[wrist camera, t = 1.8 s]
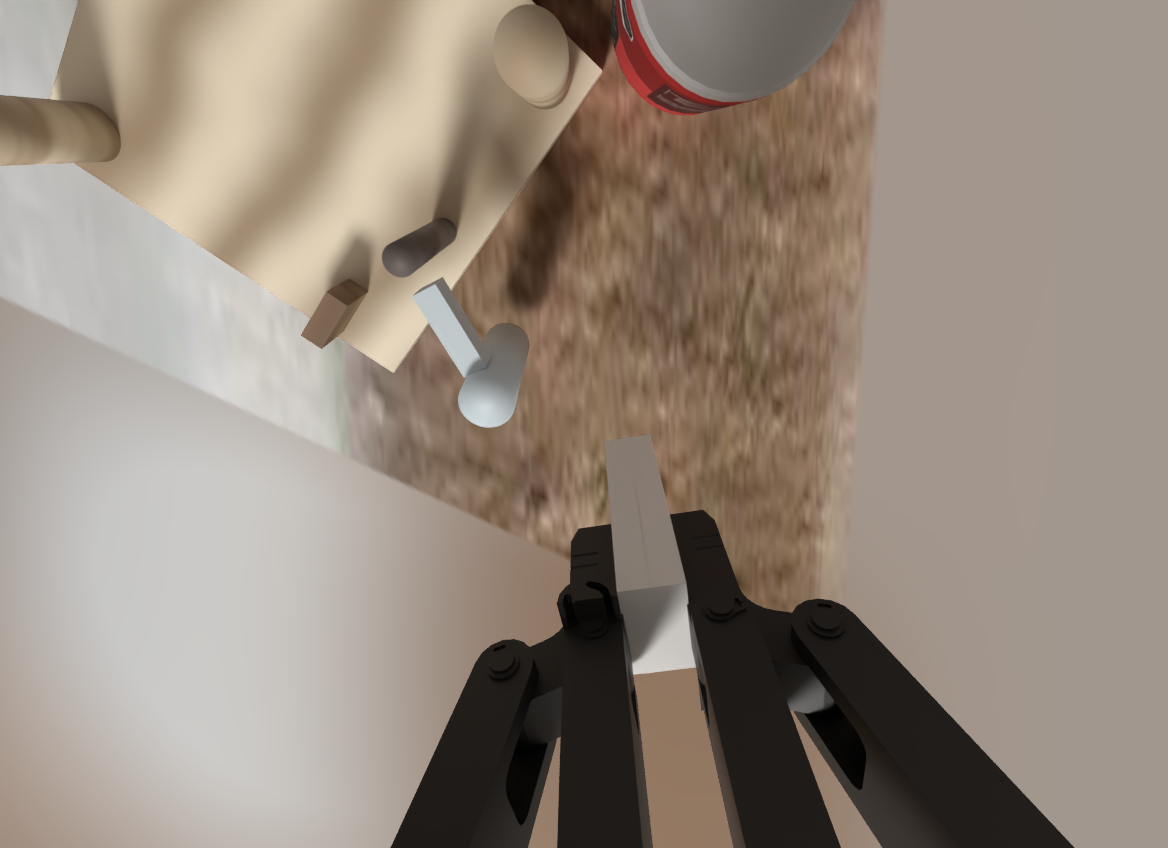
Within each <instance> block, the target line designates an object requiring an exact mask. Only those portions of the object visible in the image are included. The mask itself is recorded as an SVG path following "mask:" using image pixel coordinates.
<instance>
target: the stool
mask: <svg viewBox="0 0 1168 848" xmlns="http://www.w3.org/2000/svg"><path fill="white" fill-rule="evenodd" d="M601 74H602V70H601V69H600V68H599V67H598V66H597V65H596V64H595V63H594V62H593V61H592V60H591V59H590V58H589V57H588V56H587V55H586V54H585V53H584V52H583V51H582V50H581V49H580V48H579V47H578V46H577V45H576V44H575V43H574V42H573V41H572V40H571V39H570V38H569V37H568V36H567V35H566V34H565V32H564V29H563V27H562V25H561V24H560V22H559V21H558V19H557V18H556V17H555V16H554V15H553V14H552V13H551V12H550V11H548V10H546V9H545V8H543V7H541V6H537V5H536V4H535V3H534V2H533V1H532V0H78V4H77V7H76V11H75V14H74V18H73V21H72V24H71V28H70V31H69V35H68V38H67V42H66V45H65V49H64V52H63V55H62V59H61V62H60V66H59V69H58V73H57V76H56V79H55V83H54V86H53V90H52V93H51V97H50V99H39V98H28V97H16V96H4V95H0V166H6V165H34V164H62V163H75V164H76V165H78V166H79V167H81V168H82V169H84V170H85V171H87V172H88V173H90V174H91V175H93V176H95V177H96V178H98V179H99V180H101V181H102V182H104V183H105V184H107V185H108V186H110V187H111V188H113V189H114V190H116V191H117V192H119V193H120V194H122V195H123V196H125V197H126V198H128V199H129V200H131V201H133V202H134V203H136V204H137V205H139V206H140V207H142V208H143V209H145V210H146V211H148V212H149V213H151V214H152V215H154V216H155V217H157V218H158V219H160V220H161V221H163V222H164V223H166V224H168V225H169V226H171V227H172V228H174V229H175V230H177V231H178V232H180V233H181V234H183V235H184V236H186V237H187V238H189V239H190V240H192V241H193V242H195V243H196V244H198V245H199V246H201V247H202V248H204V249H206V250H207V251H209V252H210V253H212V254H213V255H215V256H216V257H218V258H219V259H221V260H222V261H224V262H225V263H227V264H228V265H230V266H231V267H233V268H234V269H236V270H237V271H239V272H241V273H242V274H244V275H245V276H247V277H248V278H250V279H251V280H253V281H254V282H256V283H257V284H259V285H260V286H262V287H263V288H265V289H266V290H268V291H269V292H271V293H272V294H274V295H276V296H277V297H279V298H280V299H282V300H283V301H285V302H286V303H288V304H289V305H291V306H292V307H294V308H295V309H297V310H298V311H300V312H301V313H303V314H304V315H306V316H307V317H309V318H310V320H309V322H308V324H307V326H306V327H305V329H304V331H303V332H302V334H301V336H303V337H304V338H306V339H307V340H309V341H310V342H312V343H313V344H315V345H317V346H318V347H320V348H321V349H322V348H323V347H325V346H326V345H327V344H328V343H330V342H331V341H332V340H333V339H335V338H336V337H337V336H338V337H339V338H341V339H342V340H344V341H345V342H347V343H349V344H350V345H352V346H353V347H355V348H356V349H358V350H359V351H361V352H362V353H364V354H365V355H367V356H368V357H370V358H371V359H373V360H374V361H376V362H377V363H379V364H380V365H382V366H383V367H385V368H387V369H388V370H390V371H391V372H393V373H394V372H395V370H396V369H397V368H398V367H399V365H400V364H401V363H402V362H403V360H404V359H405V358H406V356H407V355H408V354H409V352H410V351H411V349H412V348H413V346H414V345H415V343H416V342H417V341H418V339H419V338H420V336H421V335H422V333H423V332H424V330H425V329H426V328H427V326H428V325H429V323H428V321H427V319H426V318H425V316H424V315H423V313H422V312H421V310H420V309H419V307H418V305H417V304H416V302H415V301H414V299H413V298H412V296H413V295H414V294H415V293H416V292H417V291H418V290H419V289H421V288H422V287H424V286H426V285H428V284H430V283H432V282H434V281H436V280H438V279H440V278H441V277H443V278H444V280H445V281H446V283H447V285H448V286H449V288H450V290H451V291H452V290H453V289H454V287H455V286H456V284H457V283H458V282H459V280H460V279H461V277H462V276H463V274H464V273H465V271H466V270H467V269H468V267H469V266H470V264H471V263H472V261H473V260H474V258H475V257H476V256H477V254H478V253H479V251H480V250H481V248H482V247H483V246H484V244H485V243H486V241H487V240H488V238H489V237H490V235H491V234H492V233H493V231H494V230H495V228H496V227H497V225H498V224H499V222H500V221H501V220H502V218H503V217H504V215H505V214H506V212H507V211H508V209H509V208H510V207H511V205H512V204H513V202H514V201H515V199H516V198H517V197H518V195H519V194H520V192H521V191H522V189H523V188H524V186H525V185H526V184H527V182H528V181H529V179H530V178H531V176H532V175H533V173H534V172H535V171H536V169H537V168H538V166H539V165H540V163H541V162H542V161H543V159H544V158H545V156H546V155H547V153H548V152H549V150H550V149H551V148H552V146H553V145H554V143H555V142H556V140H557V139H558V137H559V136H560V135H561V133H562V132H563V130H564V129H565V127H566V126H567V125H568V123H569V122H570V120H571V119H572V117H573V116H574V114H575V113H576V112H577V110H578V109H579V107H580V106H581V104H582V103H583V101H584V100H585V99H586V97H587V96H588V94H589V93H590V91H591V90H592V88H593V87H594V86H595V84H596V83H597V81H598V80H599V78H600V77H601Z"/></svg>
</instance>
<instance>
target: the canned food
mask: <svg viewBox="0 0 1168 848" xmlns="http://www.w3.org/2000/svg"><path fill="white" fill-rule="evenodd" d="M855 1H856V0H613V3H612V10H611V27H612V37H613V43H614V49H615V53H616V55H617V58H618V61H619V64H620V67H621V69H622V71H623V73H624V75H625V76H626V78H627V80H628V82H629V83H630V85H631V86H632V87H633V88H634V89H635V91H636V92H637V93H638V94H639V95H640V96H641V97H642V98H643V99H645V100H646V101H647V102H648V103H649V104H651V105H652V106H654V107H656V108H658V109H660V110H662V111H664V112H668V113H672V114H677V115H695V114H699V113H703V112H708V111H712V110H716V109H720V108H724V107H729V106H733V105H737V104H741V103H745V102H749V101H753V100H757V99H759V98H762V97H766V96H768V95H770V94H772V93H774V92H776V91H778V90H780V89H782V88H784V87H786V86H787V85H789V84H790V83H792V82H793V81H794V80H796V79H797V78H798V77H800V76H801V75H802V74H804V73H805V72H806V71H808V70H809V69H810V68H811V67H812V66H813V65H814V64H815V63H816V62H817V61H818V60H819V58H820V57H821V56H822V55H823V54H824V53H825V52H826V51H827V50H828V48H829V47H830V45H831V44H832V43H833V41H834V40H835V38H836V37H837V35H838V34H839V32H840V31H841V29H842V28H843V26H844V24H845V22H846V20H847V18H848V15H849V13H850V11H851V9H852V7H853V5H854V3H855Z"/></svg>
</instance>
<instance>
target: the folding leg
mask: <svg viewBox="0 0 1168 848" xmlns="http://www.w3.org/2000/svg"><path fill="white" fill-rule="evenodd" d="M412 298H413V299H414V301H415V302H416V304H417V305H418V307H419V309H420V310H421V312H422V313H423V315H424V316H425V318H426V319H427V321H428V323H429V324H430V326H431V327H432V329H433V330H434V332H435V333H436V335H437V337H438V338H439V340H440V341H441V343H442V344H443V346H444V347H445V349H446V351H447V352H448V354H449V355H450V357H451V358H452V360H453V361H454V363H455V364H456V366H457V368H458V369H459V371H460V372H461V374H462V375H463V377H466V376H467V378H466V380H465V382H464V384H463V386H462V388H461V390H460V393H459V397H458V402H459V407H460V410H461V412H462V413H463V415H464V416H465V417H466V418H467V419H468V420H469V421H470V422H472V423H474V424H476V425H478V426H482V427H496V426H500V425H502V424H504V423H505V422H507V421H508V420H509V419H510V418H511V416H512V415H513V412H514V409H515V405H516V401H517V397H518V393H519V389H520V384H521V380H522V376H523V372H524V368H525V363H526V359H527V355H528V351H529V339H528V337H527V335H526V333H525V332H524V330H523V329H521V328H520V327H519V326H517V325H515V324H512V323H500V324H497V325H495V326H494V327H492V328H491V329H490V331H489V332H488V334H487V336H486V338H485V340H484V342H483V343H482V341H481V339H480V338H479V336H478V334H477V333H476V331H475V329H474V328H473V326H472V324H471V323H470V321H469V319H468V318H467V316H466V314H465V313H464V311H463V309H462V308H461V306H460V305H459V303H458V301H457V300H456V298H455V296H454V295H453V293H452V291H451V290H450V288H449V286H448V285H447V283H446V281H445V280H444V278H443V277H441V278H440V279H438V280H436V281H434V282H432V283H430V284H428V285H426V286H424V287H422V288H421V289H419V290H418V291H417V292H416V293H415V294H414V295H413V296H412Z"/></svg>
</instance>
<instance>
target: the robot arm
mask: <svg viewBox="0 0 1168 848" xmlns="http://www.w3.org/2000/svg"><path fill="white" fill-rule="evenodd" d="M604 443H605V455H606V467H607V479H608V491H609V503H610V515H611V524H608V525H601V526H594V527H587V528H580V529H578V531H577V532H576V534H575V536H574V538H573V539H572V541H571V570H570V584H569V585H568V586H566V587H565V588H564V590H563V591H562V592H561V593H560V595H559V598H558V601H557V606H558V610H559V613H560V617H561V621H562V624H563V627H562V628H561V630H560V631H559V632H557V633H556V634H555V635H554V636H552V637H551V638H549V639H547V640H545V641H543V642H540V643H538V644H536V645H533V646H531V647H529V646H527V645H526V644H525V643H524V642H522V641H518V640H515V639H512V640H502V641H500V642H498V643H495V644H493V645H491V646H490V647H489V648H487V649H486V650H485V651H484V652H483V653H482V654H481V655H480V657H479V658H478V660H477V661H476V663H475V665H474V667H473V669H472V672H471V674H470V676H469V678H468V680H467V683H466V685H465V687H464V689H463V691H462V693H461V695H460V698H459V700H458V702H457V704H456V706H455V709H454V711H453V713H452V715H451V717H450V720H449V722H448V724H447V726H446V729H445V730H444V733H443V735H442V737H441V739H440V741H439V743H438V746H437V748H436V750H435V752H434V755H433V757H432V759H431V761H430V763H429V765H428V767H427V770H426V772H425V774H424V776H423V778H422V781H421V783H420V785H419V787H418V789H417V792H416V794H415V796H414V798H413V800H412V802H411V805H410V807H409V809H408V811H407V813H406V815H405V818H404V820H403V822H402V824H401V826H400V828H399V831H398V833H397V835H396V837H395V840H394V842H393V844H392V846H391V848H528V845H529V841H530V838H531V834H532V830H533V826H534V823H535V819H536V815H537V811H538V808H539V804H540V800H541V797H542V793H543V789H544V786H545V782H546V778H547V774H548V770H549V767H550V763H551V760H552V756H553V752H554V748H555V745H556V739H557V738H558V737H561V745H560V776H559V809H558V843H557V844H558V845H557V848H653V845H652V836H651V826H650V816H649V807H648V798H647V790H646V789H647V788H646V779H645V769H644V760H643V751H642V741H641V732H640V722H639V713H638V703H637V695H636V690H635V685H634V678H633V675H635V674H643V673H651V672H659V671H668V670H676V669H684V668H693V667H696V669H697V674H698V683H699V692H700V700H701V710H704V714H705V718H706V723H707V728H708V732H709V737H710V741H711V746H712V750H713V755H714V760H715V764H716V769H717V774H718V778H719V783H720V787H721V792H722V797H723V801H724V806H725V811H726V815H727V820H728V824H729V829H730V834H731V838H732V842H733V847H734V848H841V847H840V844H839V841H838V839H837V836H836V833H835V831H834V828H833V825H832V823H831V820H830V817H829V815H828V812H827V809H826V806H825V804H824V801H823V798H822V795H821V793H820V790H819V788H818V785H817V782H816V780H815V777H814V774H813V771H812V769H811V766H810V763H809V760H808V758H807V755H806V753H805V750H804V747H803V744H802V742H801V739H800V736H799V733H798V731H797V728H796V725H795V723H794V720H793V717H792V715H791V712H790V710H793V711H794V713H795V715H796V716H797V718H798V720H799V721H800V723H801V724H802V726H803V727H804V729H805V730H806V732H807V733H808V735H809V736H810V738H811V739H812V741H813V742H814V744H815V745H816V747H817V749H818V750H819V751H820V753H821V755H822V756H823V758H824V759H825V761H826V762H827V764H828V765H829V767H830V768H831V770H832V771H833V773H834V774H835V776H836V777H837V779H838V781H839V782H840V784H841V785H842V787H843V788H844V790H845V791H846V793H847V794H848V796H849V797H850V799H851V800H852V802H853V803H854V805H855V806H856V808H857V810H858V811H859V812H860V814H861V815H862V817H863V819H864V820H865V822H866V823H867V825H868V826H869V828H870V829H871V831H872V832H873V834H874V835H875V837H876V838H877V840H878V842H879V843H880V845H881V846H882V848H1074V847H1073V846H1072V845H1071V844H1070V843H1069V841H1067V839H1066V838H1065V837H1064V836H1063V835H1062V834H1061V833H1060V832H1059V831H1058V830H1057V829H1056V828H1055V827H1054V825H1053V824H1052V823H1051V822H1050V821H1049V820H1048V819H1047V818H1046V817H1045V816H1044V815H1043V814H1042V813H1041V812H1040V811H1039V810H1038V809H1037V807H1036V806H1035V805H1034V804H1033V803H1032V802H1031V801H1030V800H1029V799H1028V798H1027V797H1026V796H1025V795H1024V794H1023V793H1022V792H1021V791H1020V789H1018V787H1017V786H1016V785H1015V784H1014V783H1013V782H1012V781H1011V780H1010V779H1009V778H1008V777H1007V776H1006V774H1005V773H1004V772H1003V771H1002V770H1001V769H1000V768H999V767H998V766H997V765H996V764H995V763H994V762H993V761H992V760H991V759H990V757H989V756H988V755H987V754H986V753H985V752H984V751H983V750H982V749H981V748H980V747H979V746H978V745H977V744H976V743H975V742H974V741H973V739H972V738H971V737H970V736H969V735H968V734H967V733H966V732H965V731H964V730H963V729H962V728H961V727H960V726H959V725H958V724H957V722H956V721H955V720H954V719H953V718H952V717H951V716H950V715H949V714H948V713H947V712H946V711H945V710H944V709H943V708H942V707H941V706H940V704H939V703H938V702H937V701H936V700H935V699H934V698H933V697H932V696H931V695H930V694H929V693H928V692H927V691H926V690H925V688H924V687H923V686H922V685H921V684H920V683H919V682H918V681H917V680H916V679H915V678H914V677H913V676H912V675H911V674H910V673H909V671H908V670H907V669H906V668H905V667H904V666H903V665H902V664H901V663H900V662H899V661H898V660H897V659H896V658H895V657H894V656H893V655H892V653H891V652H890V651H889V650H888V649H887V648H886V647H885V646H884V645H883V644H882V643H881V642H880V641H879V640H878V639H877V638H876V636H875V635H874V634H873V633H872V632H871V631H870V630H869V629H868V628H867V627H866V626H865V625H864V624H863V623H862V622H861V621H860V619H859V618H858V617H857V616H856V615H855V614H854V613H853V612H851V611H850V610H849V609H847V608H846V607H845V606H843V605H841V604H839V603H836V602H834V601H831V600H824V599H813V600H807V601H804V602H803V603H801V604H799V605H798V606H796V608H795V609H794V611H793V613H790V612H783V611H776V610H771V609H766V608H763V607H761V606H758V605H756V604H754V603H753V602H751V601H750V600H748V599H747V598H746V597H745V596H744V595H743V593H742V592H741V590H740V588H739V586H738V583H737V581H736V578H735V575H734V572H733V569H732V567H731V564H730V561H729V558H728V556H727V553H726V550H725V548H724V545H723V542H722V539H721V537H720V534H719V531H718V528H717V525H716V523H715V520H714V519H713V518H711V517H710V516H709V515H708V514H707V513H706V512H705V511H704V510H699V511H692V512H685V513H678V514H669V510H668V506H667V502H666V498H665V493H664V489H663V485H662V481H661V477H660V473H659V469H658V465H657V461H656V457H655V453H654V449H653V444H652V440H651V436H650V434H649V435H643V436H636V437H630V438H623V439H617V440H610V441H604Z"/></svg>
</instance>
